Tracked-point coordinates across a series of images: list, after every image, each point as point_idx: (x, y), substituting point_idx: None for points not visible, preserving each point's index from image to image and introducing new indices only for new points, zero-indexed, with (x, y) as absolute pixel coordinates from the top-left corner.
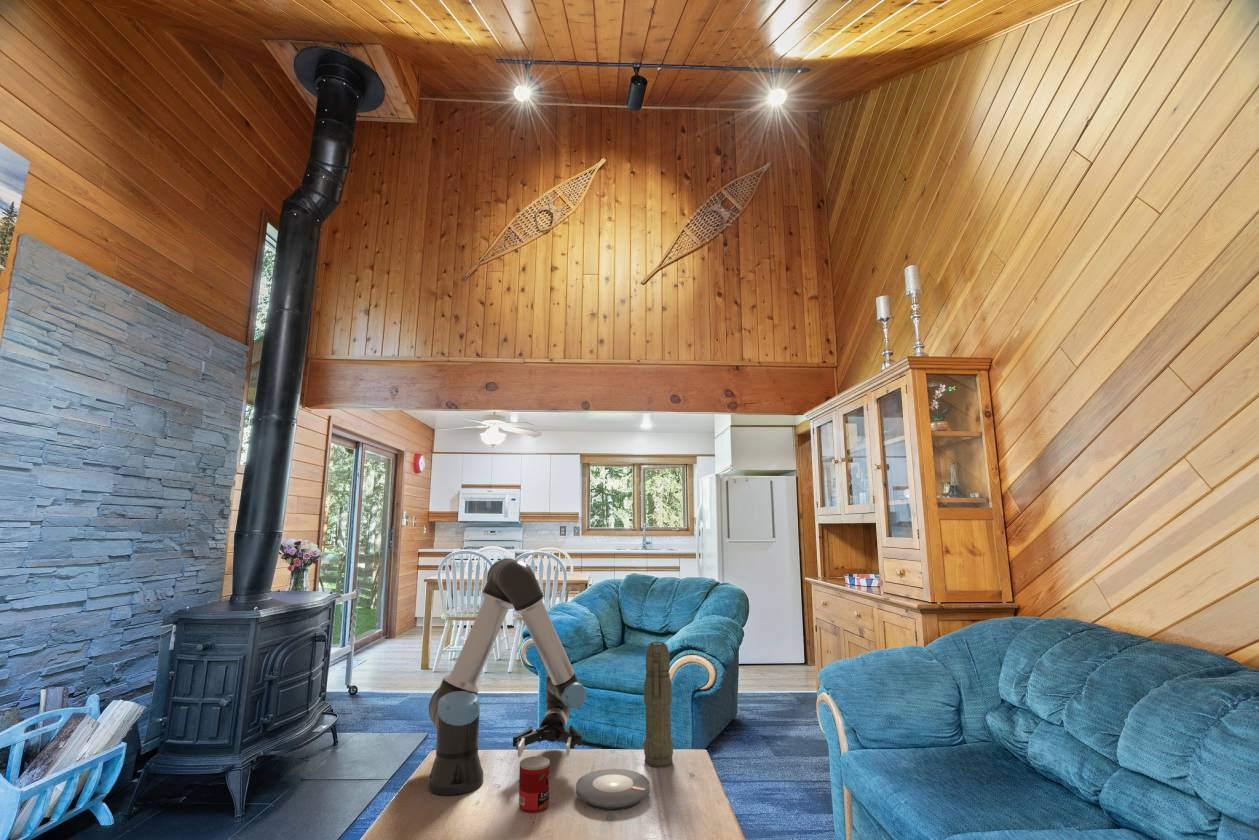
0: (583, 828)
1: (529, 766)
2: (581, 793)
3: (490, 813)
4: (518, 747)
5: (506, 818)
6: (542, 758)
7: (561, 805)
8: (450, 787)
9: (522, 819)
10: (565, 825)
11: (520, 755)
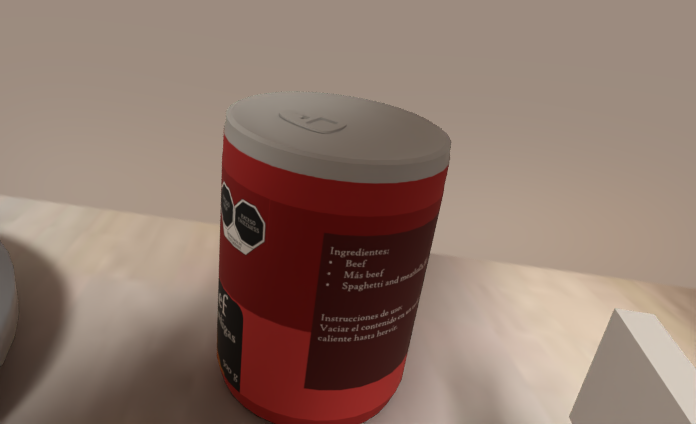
0: (100, 212)
1: (368, 117)
2: (11, 264)
3: (530, 346)
4: (639, 322)
5: (431, 303)
6: (281, 144)
7: (137, 358)
8: None
9: None
10: (167, 233)
11: (576, 410)
